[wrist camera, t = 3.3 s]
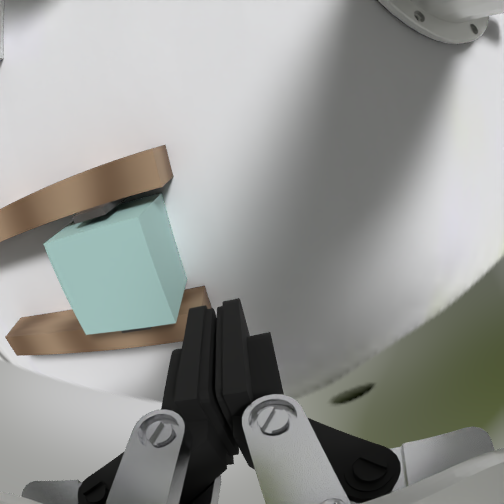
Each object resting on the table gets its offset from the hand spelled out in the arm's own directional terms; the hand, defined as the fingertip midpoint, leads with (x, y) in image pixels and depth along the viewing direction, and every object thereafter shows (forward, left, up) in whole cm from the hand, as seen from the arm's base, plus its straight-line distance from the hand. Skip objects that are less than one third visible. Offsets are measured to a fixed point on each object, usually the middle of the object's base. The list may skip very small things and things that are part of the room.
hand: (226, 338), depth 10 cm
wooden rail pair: (+11, -1, -10) cm, 15 cm away
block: (+6, -1, -10) cm, 12 cm away
